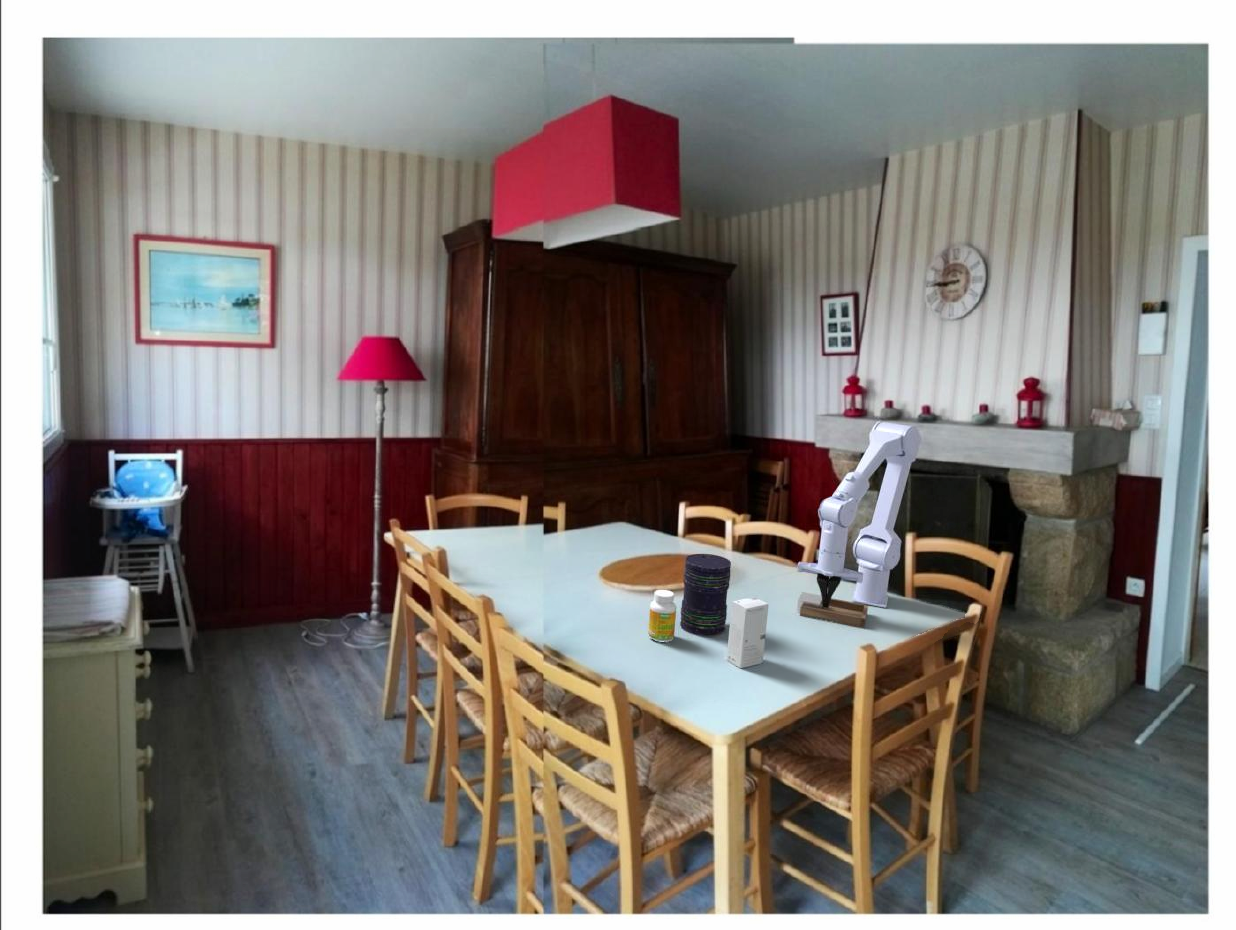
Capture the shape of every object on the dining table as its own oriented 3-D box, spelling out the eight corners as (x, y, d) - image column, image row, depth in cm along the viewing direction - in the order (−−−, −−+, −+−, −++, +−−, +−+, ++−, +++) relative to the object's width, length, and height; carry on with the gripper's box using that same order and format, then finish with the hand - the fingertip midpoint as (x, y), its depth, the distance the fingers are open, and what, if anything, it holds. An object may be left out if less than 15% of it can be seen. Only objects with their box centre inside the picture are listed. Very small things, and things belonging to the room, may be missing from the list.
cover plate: (801, 601, 173) (802, 591, 173) (822, 605, 171) (823, 596, 171) (797, 609, 168) (798, 599, 167) (819, 614, 166) (820, 603, 165)
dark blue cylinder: (732, 635, 152) (738, 568, 149) (688, 637, 150) (693, 568, 147) (715, 617, 161) (721, 553, 159) (673, 618, 159) (678, 553, 156)
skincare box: (740, 669, 137) (746, 609, 134) (725, 660, 140) (730, 601, 138) (764, 663, 140) (770, 604, 138) (748, 653, 144) (753, 596, 142)
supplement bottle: (656, 645, 145) (659, 599, 143) (643, 634, 150) (646, 590, 148) (678, 641, 148) (682, 596, 146) (665, 631, 152) (668, 587, 151)
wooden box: (805, 602, 174) (806, 593, 174) (867, 614, 169) (868, 605, 169) (799, 615, 166) (800, 606, 165) (863, 628, 160) (865, 619, 160)
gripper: (797, 549, 164) (791, 605, 167) (864, 560, 159) (856, 618, 161) (802, 541, 171) (796, 596, 173) (866, 551, 165) (859, 608, 168)
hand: (825, 606), depth 168 cm, fingers closed
